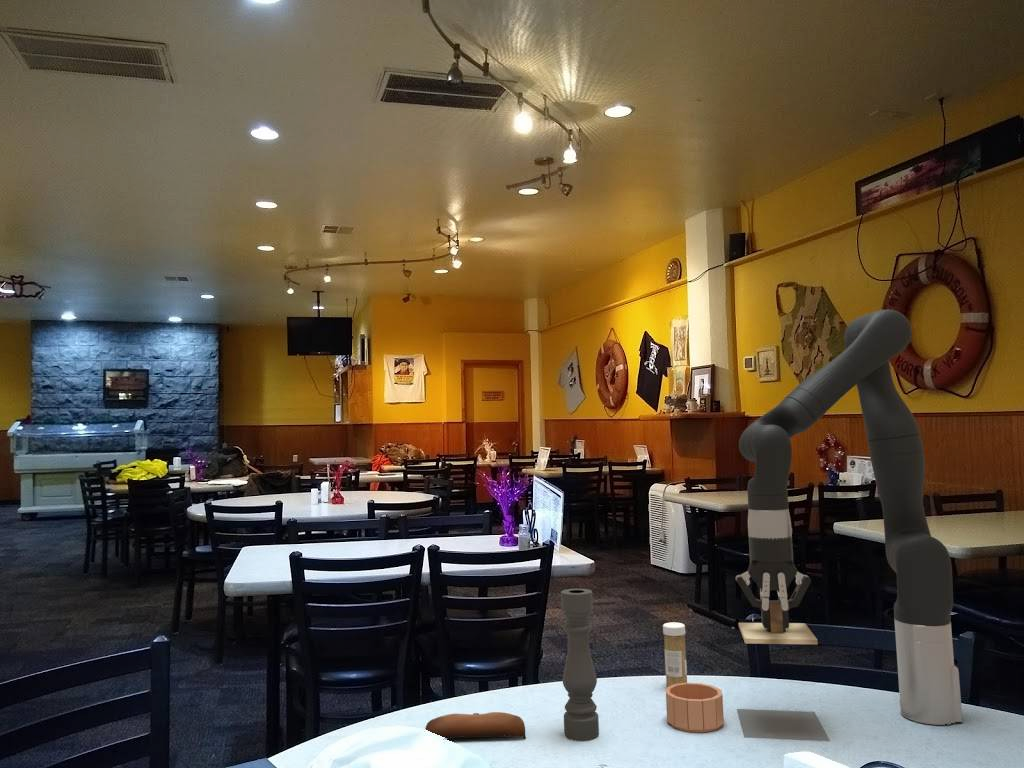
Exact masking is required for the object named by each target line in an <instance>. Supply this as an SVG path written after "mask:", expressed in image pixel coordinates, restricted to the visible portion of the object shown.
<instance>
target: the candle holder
mask: <svg viewBox="0 0 1024 768" xmlns="http://www.w3.org/2000/svg"><path fill="white" fill-rule="evenodd" d="M560 600H561V601H560V603H561V604H560V606H561V607H560V608H561V609H560V610H561V611H562V612H563V613H562V614H563V616H564V618H565V620H566V622H565V623H564V624H563V626H562V627H563V630H564V632H565V633H566V634H567V636H566V637H567V654H566V657H565V664H564V669H563V675H562V685H563V687H564V690H565V691H566V693H567V696H568V700H567V702H566V704H565V705H564V710H565V713H564V714H563V734H565V735H564V737H565V736H566V737H565V738H567V739H568V738H569V739H568V740H571V739H572V741H575V740H576V741H575V742H586V741H587V742H588V741H593V740H595V739H597V738H599V735H600V728H599V727H600V724H599V713H597V708H598V707H597V704H596V703H595V701H594V700H593V699H592V698H593V696H594V691H595V688H596V687H597V683H598V677H597V674H596V670H595V666H594V663H593V659H592V656H591V655H592V654H591V651H590V637H589V636H590V632H591V631H592V630H593V625H592V624H591V623H590V622H589V620H590V617H591V615H592V611H593V609H594V607H593V606H594V604H593V602H594V601H593V591H592V590H591V589H588V588H569V589H568V588H567V589H563V590H561V591H560Z"/></svg>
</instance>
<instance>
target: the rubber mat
mask: <svg viewBox="0 0 1024 768" xmlns="http://www.w3.org/2000/svg"><path fill="white" fill-rule="evenodd" d="M736 712H737V715H738V718H739V719H738V720H739V723H740V727H741V731H742V733H743V738H747V739H748V738H751V739H766V740H767V739H772V740H791V741H793V740H794V741H811V742H812V741H813V742H814V741H815V742H831V740H830V738H829V736H828V734H827V733H826V731H825V729H824V727H823V725H822V723H821V721H820V719H819V718H818V716H817V714H816V712H815V711H803V710H802V711H800V710H799V711H798V710H777V709H776V710H774V709H771V710H770V709H754V708H753V709H752V708H751V709H748V708H736Z"/></svg>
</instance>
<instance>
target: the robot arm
mask: <svg viewBox="0 0 1024 768" xmlns="http://www.w3.org/2000/svg"><path fill="white" fill-rule="evenodd" d="M912 331H913V329H912V327H911V323H910V321H909V319H908V318H907V317H906V315H904V314H903V313H901V312H899V311H898V310H895V309H881V310H880V309H879V310H876V311H873V312H869V313H866V314H864V315H862V316H859V317H857V318H855V319H853V320H852V321H850V323H848V325H847V326H846V329H845V331H844V347H845V349H844V350H843V351H842V352H840V354H839V355H837V356H836V357H835V358H834V359H832V360H831V361H830V362H828V363H826V364H825V365H824V366H822V367H821V368H819V369H818V370H816V371H815V372H813V373H812V374H810V376H808V377H806V378H805V379H804V380H803V381H801V382H800V383H799V384H798V385H797V386H796V387H795V388H794V389H792V391H791V392H789V394H787V395H786V397H784V398H783V399H782V400H781V401H780V402H779V404H777V405H776V406H775V407H773V408H772V409H770V410H768V411H767V412H765V413H764V414H763V415H761V416H760V417H759V418H757V419H756V420H754V421H753V422H751V423H750V424H749V425H748V426H747V427H746V428H745V429H744V430H743V432H742V434H741V435H740V438H739V441H738V448H739V449H738V450H739V452H740V454H741V455H742V457H744V459H746V460H747V461H749V462H752V463H754V465H755V467H754V475H753V477H751V478H750V479H749V480H748V482H747V488H746V489H747V506H748V510H747V511H748V512H747V513H748V514H747V515H748V516H747V531H748V545H749V547H748V548H749V549H748V550H749V565H747V566H748V567H747V571H745V572H743V573H741V574H737V575H736V576H735V581H736V582H737V584H738V585H739V587H740V588H741V590H742V592H743V594H744V595H745V597H746V599H747V600H748V601H749V603H750V604H751V606H752V608H753V607H754V608H758V609H760V610H761V611H760V612H761V614H760V615H761V623H762V624H763V627H764V628H766V630H767V631H770V632H771V625H770V611H769V600H770V592H772V591H775V592H777V596H778V601H779V602H780V604H781V605H782V619H783V632H786V628H789V623H790V620H789V619H790V618H789V611H790V609H793V608H797V607H799V605H800V603H801V601H802V600H803V597H804V596H805V594H806V592H807V590H808V587H809V586H810V584H811V583H812V579H811V577H809V576H808V575H807V574H803V573H801V572H799V571H798V569H797V567H796V566H795V564H794V550H793V536H792V534H793V528H792V521H791V520H792V519H791V515H790V512H789V511H790V509H789V496H788V495H789V493H788V482H789V477H790V471H791V465H792V460H793V459H792V457H793V446H792V445H793V444H792V442H791V438H792V437H794V436H795V435H799V434H802V433H804V432H806V431H808V430H809V429H810V428H812V426H814V425H815V424H816V422H818V421H819V420H820V419H821V418H822V417H823V416H824V415H825V414H826V413H827V412H828V411H829V410H830V409H831V408H832V407H833V406H834V405H835V404H836V403H837V402H839V401H840V400H841V399H842V398H843V397H844V396H845V395H846V394H847V393H848V392H849V391H850V390H852V389H853V388H854V387H856V389H857V392H858V393H857V394H858V398H859V404H860V408H861V414H862V418H863V424H864V430H865V435H866V441H867V447H868V453H869V457H870V463H871V466H872V467H871V468H872V471H873V476H874V477H873V478H874V479H875V486H876V488H877V493H878V497H879V500H880V503H881V508H882V515H883V518H882V519H883V529H884V530H883V531H884V542H885V543H884V545H885V547H884V548H885V556H886V560H887V562H888V565H889V566H890V568H891V569H892V570H893V571H894V572H895V574H896V588H897V589H896V590H897V591H896V592H897V593H896V594H897V595H896V596H897V597H896V601H895V602H894V604H893V618H894V631H895V633H894V634H895V646H896V661H897V663H896V664H897V674H898V675H897V676H898V679H897V680H898V690H899V691H898V693H899V706H900V714H901V715H902V716H903V717H904V718H906V719H909V720H911V721H914V722H917V723H921V724H925V725H926V724H927V725H935V726H936V725H937V726H944V725H945V724H947V725H952V724H951V723H953V724H956V723H955V722H962V723H963V713H962V701H961V700H962V697H961V684H960V672H959V668H958V667H957V666H956V664H955V662H954V661H955V659H954V658H955V657H954V646H953V635H952V621H951V619H952V616H951V615H952V613H951V612H952V611H953V607H954V590H953V589H954V586H953V567H952V559H951V556H950V553H949V551H948V549H947V547H946V546H945V544H944V543H943V542H941V541H940V540H939V539H937V538H935V537H934V536H932V535H931V531H930V528H929V525H928V521H927V516H926V512H925V507H924V496H923V495H924V485H925V484H924V483H925V473H926V460H925V452H924V446H923V442H922V436H921V431H920V427H919V424H918V422H917V420H916V418H915V416H914V414H913V413H912V411H911V410H910V408H909V406H908V405H907V404H906V403H905V401H904V399H903V398H902V397H901V395H900V393H899V391H898V390H897V388H896V386H895V383H894V380H893V376H892V369H891V366H890V365H891V364H890V360H892V359H893V358H895V357H896V356H897V355H899V354H901V353H903V351H904V350H906V348H907V347H908V345H909V344H910V342H911V340H912ZM750 578H752V580H753V581H754V582H755V583H756V585H757V586H758V587H759V595H760V596H759V597H760V599H758V598H756V597H755V595H754V593H753V592H752V590H751V589H750V587H749V585H750V584H751V581H750ZM794 578H795V583H796V587H795V588H794V591H793V593H792V595H791V596H790V598H789V599H788V592H787V589H788V588H789V586H790V585H791V583H792V581H793V580H794ZM945 726H946V725H945Z"/></svg>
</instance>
